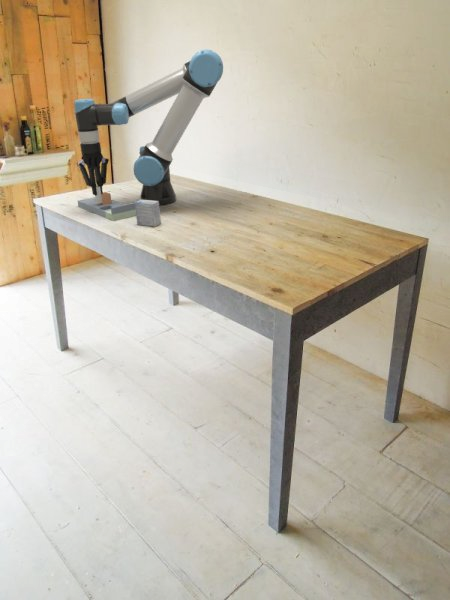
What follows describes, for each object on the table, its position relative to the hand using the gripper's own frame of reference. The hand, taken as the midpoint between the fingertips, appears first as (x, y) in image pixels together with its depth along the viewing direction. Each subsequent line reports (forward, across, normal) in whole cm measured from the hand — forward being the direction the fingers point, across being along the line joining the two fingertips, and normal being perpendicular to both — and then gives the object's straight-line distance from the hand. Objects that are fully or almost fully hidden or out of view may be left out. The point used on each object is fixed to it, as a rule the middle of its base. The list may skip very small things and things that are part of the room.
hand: (99, 202), depth 203 cm
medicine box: (+4, -4, +30) cm, 31 cm away
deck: (+4, -2, +2) cm, 4 cm away
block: (+1, -3, 0) cm, 3 cm away
